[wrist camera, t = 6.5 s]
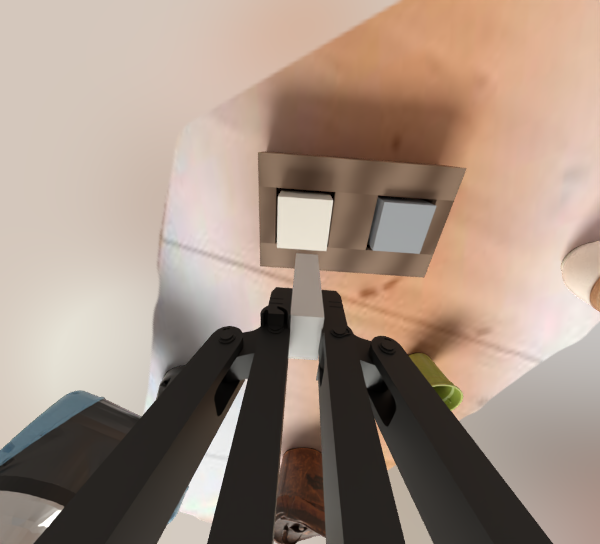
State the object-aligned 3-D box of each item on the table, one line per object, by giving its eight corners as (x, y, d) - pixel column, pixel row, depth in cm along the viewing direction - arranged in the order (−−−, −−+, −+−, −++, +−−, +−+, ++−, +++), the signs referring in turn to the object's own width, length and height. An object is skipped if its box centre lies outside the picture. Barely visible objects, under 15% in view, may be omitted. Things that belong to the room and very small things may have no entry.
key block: (266, 249, 37) (260, 266, 31) (266, 151, 30) (258, 152, 25) (407, 259, 37) (424, 277, 32) (438, 164, 30) (466, 168, 25)
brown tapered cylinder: (270, 469, 75) (262, 555, 59) (277, 438, 65) (270, 530, 50) (323, 473, 76) (329, 558, 60) (337, 443, 67) (348, 534, 51)
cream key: (280, 236, 31) (276, 247, 27) (281, 190, 28) (277, 196, 24) (323, 239, 31) (326, 251, 27) (329, 193, 28) (333, 200, 24)
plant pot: (392, 349, 47) (409, 388, 39) (440, 343, 46) (467, 382, 38) (393, 378, 51) (408, 418, 44) (436, 373, 50) (459, 413, 43)
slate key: (365, 239, 32) (372, 250, 29) (374, 195, 29) (384, 202, 26) (407, 242, 32) (419, 253, 29) (420, 198, 29) (436, 205, 26)
